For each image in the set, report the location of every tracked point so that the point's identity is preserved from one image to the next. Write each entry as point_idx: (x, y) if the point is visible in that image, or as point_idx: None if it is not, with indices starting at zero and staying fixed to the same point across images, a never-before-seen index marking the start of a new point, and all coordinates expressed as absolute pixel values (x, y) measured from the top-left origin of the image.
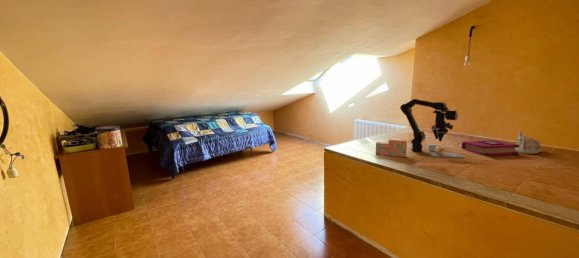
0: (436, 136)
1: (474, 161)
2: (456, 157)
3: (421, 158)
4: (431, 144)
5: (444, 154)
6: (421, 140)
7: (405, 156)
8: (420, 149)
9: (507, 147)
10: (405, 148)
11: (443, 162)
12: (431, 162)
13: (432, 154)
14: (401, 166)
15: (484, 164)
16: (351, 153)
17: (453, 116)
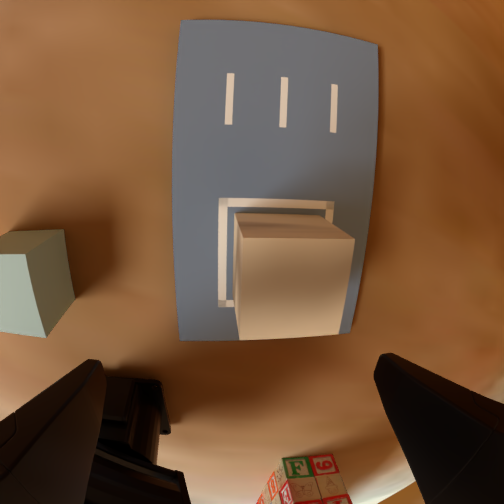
0: (89, 425)
1: (451, 45)
2: (375, 116)
3: (377, 394)
4: (6, 301)
5: (281, 200)
6: (179, 492)
7: (332, 458)
8: (140, 397)
9: None
10: (347, 499)
11: (475, 282)
12: (460, 347)
13: None
14: None
15: (495, 46)
16: None
17: None
